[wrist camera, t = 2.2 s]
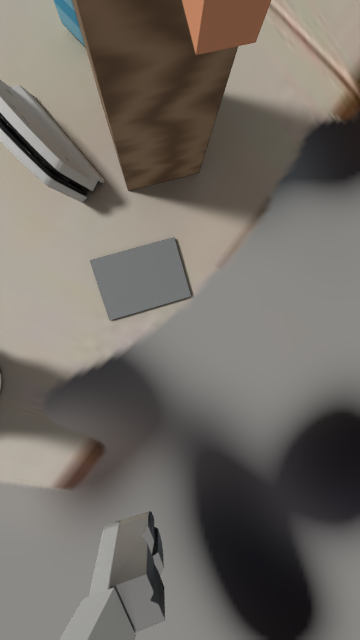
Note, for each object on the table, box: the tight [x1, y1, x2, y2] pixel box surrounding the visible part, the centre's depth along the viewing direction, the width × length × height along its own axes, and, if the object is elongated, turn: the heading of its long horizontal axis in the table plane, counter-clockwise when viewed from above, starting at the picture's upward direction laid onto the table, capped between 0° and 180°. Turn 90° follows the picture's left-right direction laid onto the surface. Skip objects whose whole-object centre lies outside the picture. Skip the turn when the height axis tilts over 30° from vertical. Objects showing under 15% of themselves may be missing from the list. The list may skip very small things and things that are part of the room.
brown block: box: [72, 0, 238, 191], centre depth 22 cm, size 12×14×26 cm
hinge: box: [0, 80, 105, 202], centre depth 29 cm, size 17×5×10 cm, turn 41°
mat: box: [90, 237, 191, 320], centre depth 36 cm, size 14×10×1 cm
